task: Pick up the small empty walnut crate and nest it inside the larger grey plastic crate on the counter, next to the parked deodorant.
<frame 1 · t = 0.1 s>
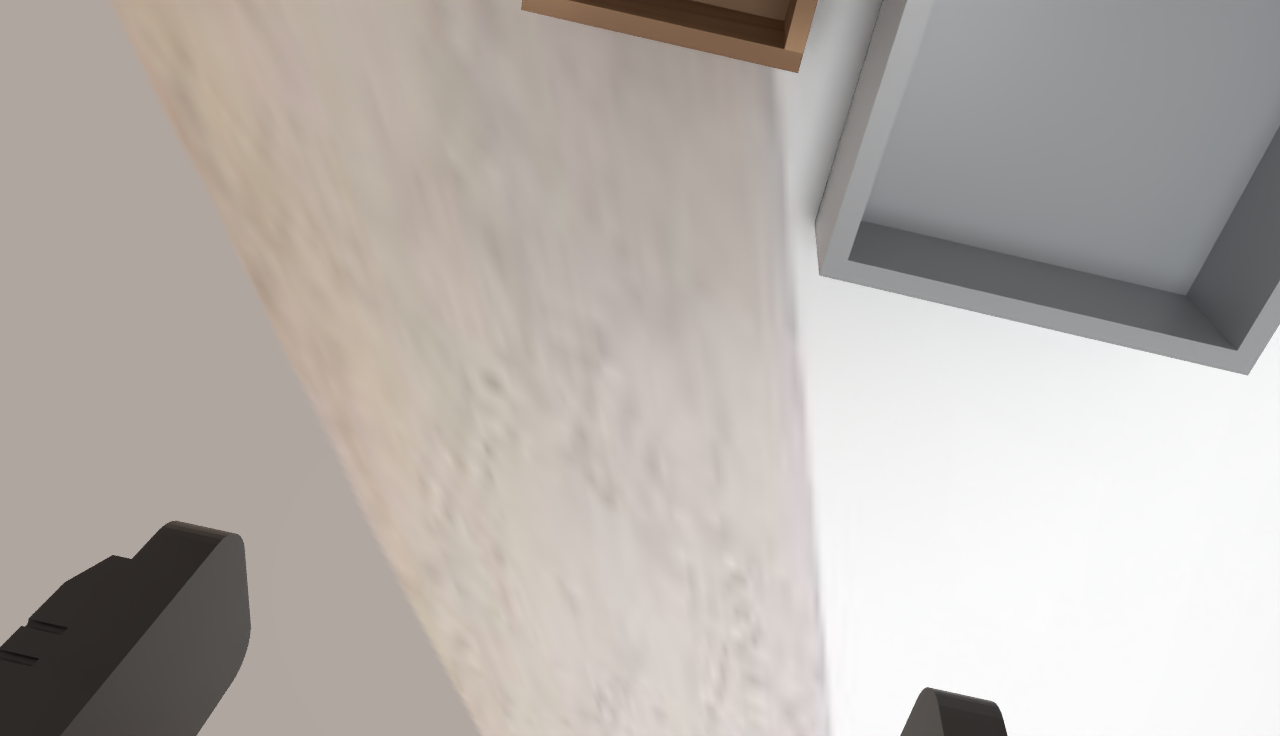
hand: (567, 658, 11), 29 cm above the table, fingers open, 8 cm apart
crate large: (1070, 101, 34), on the table
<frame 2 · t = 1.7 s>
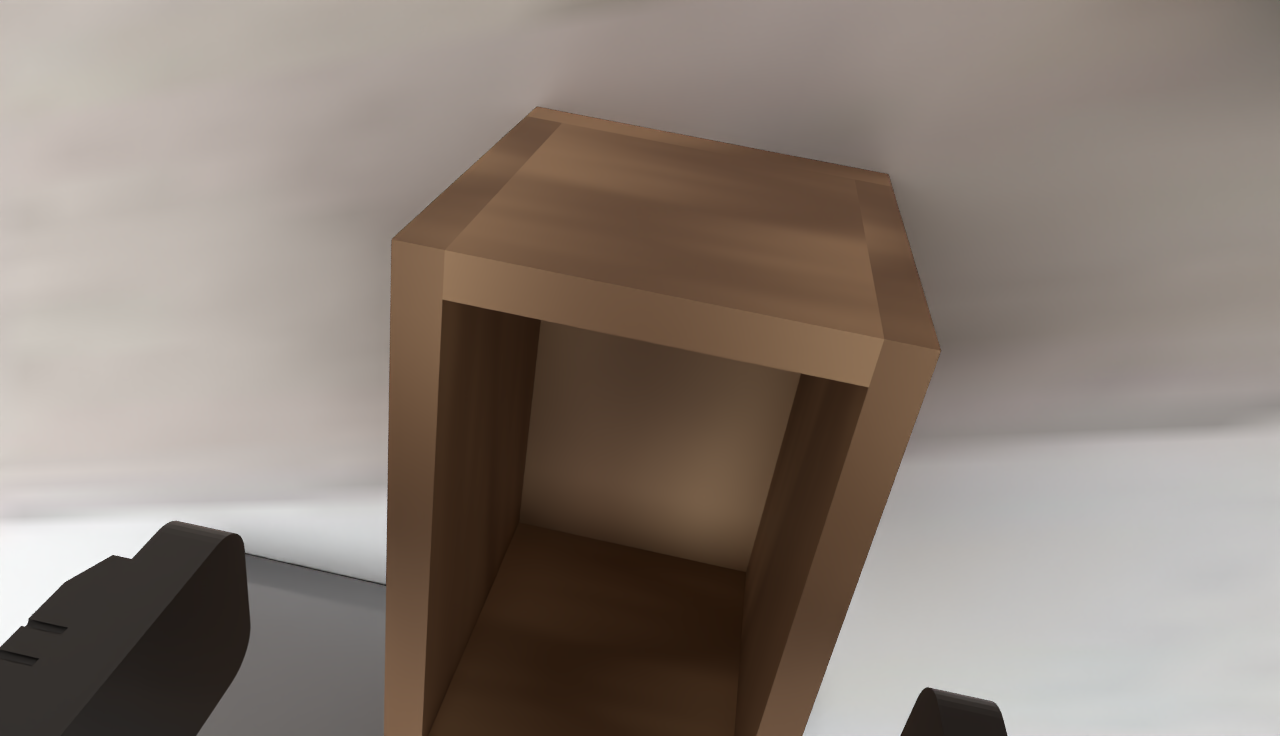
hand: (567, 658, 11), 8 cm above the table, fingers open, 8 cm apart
crate small: (667, 366, 18), on the table
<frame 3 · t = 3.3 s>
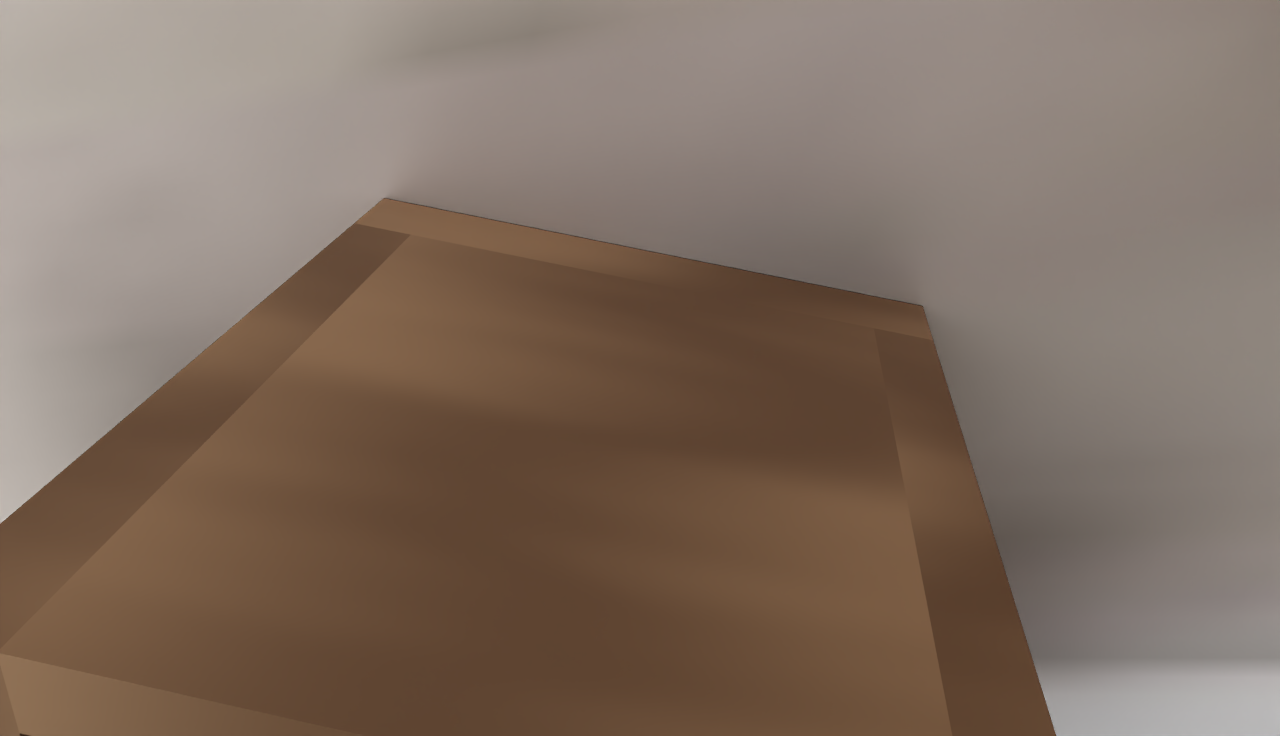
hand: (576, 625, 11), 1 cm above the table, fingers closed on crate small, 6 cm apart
crate small: (596, 559, 12), on the table, touching gripper
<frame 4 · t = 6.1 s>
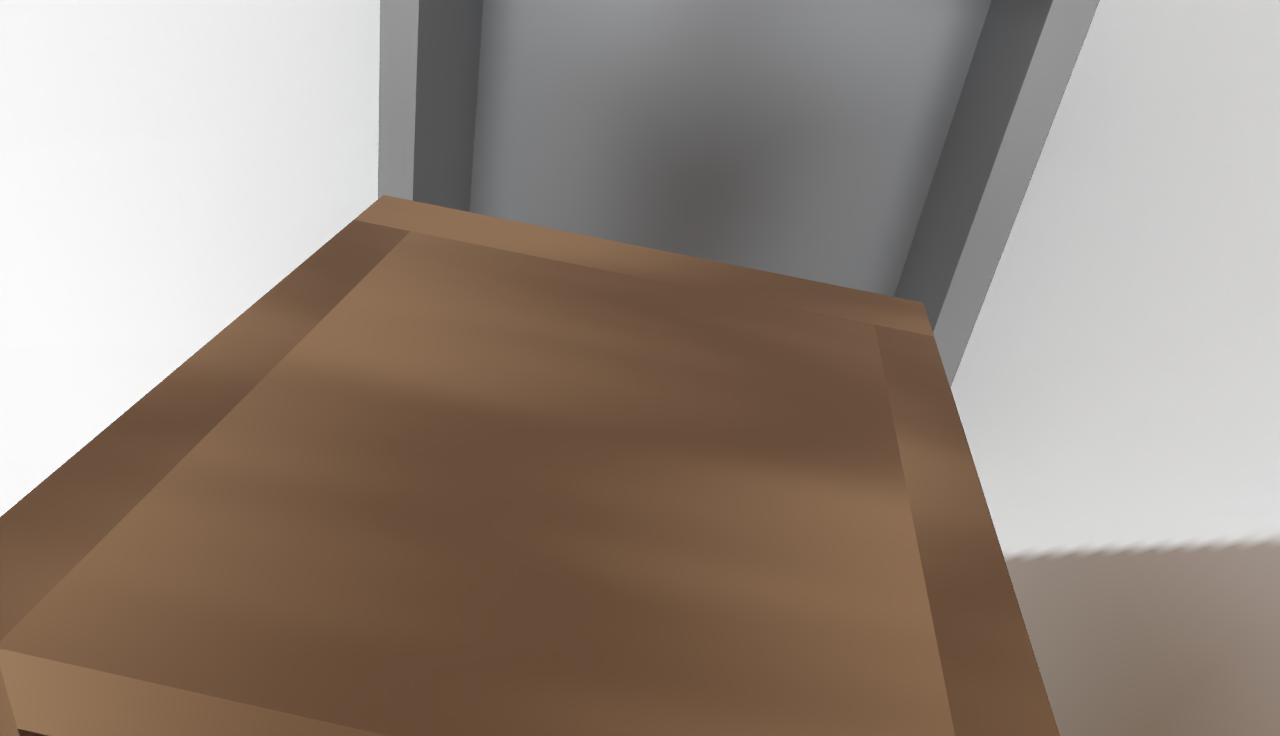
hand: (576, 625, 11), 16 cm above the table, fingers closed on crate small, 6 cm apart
crate large: (691, 198, 25), on the table
crate small: (596, 557, 12), point 15 cm above the table, touching gripper
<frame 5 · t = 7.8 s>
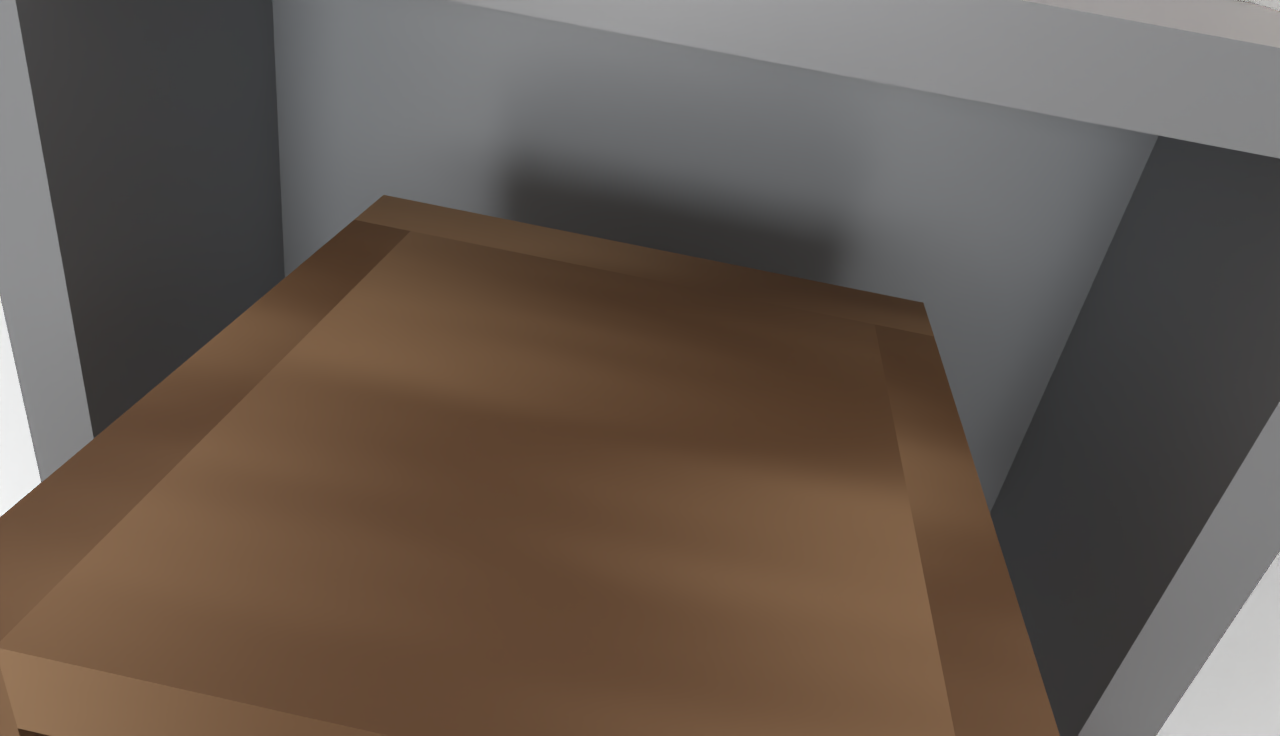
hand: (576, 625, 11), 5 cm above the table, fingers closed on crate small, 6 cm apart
crate large: (641, 403, 16), on the table
crate small: (596, 557, 12), point 4 cm above the table, touching gripper
when the fingers open (4 cm above the table, at t = 9.1 s): crate small drops 2 cm, resting on crate large.
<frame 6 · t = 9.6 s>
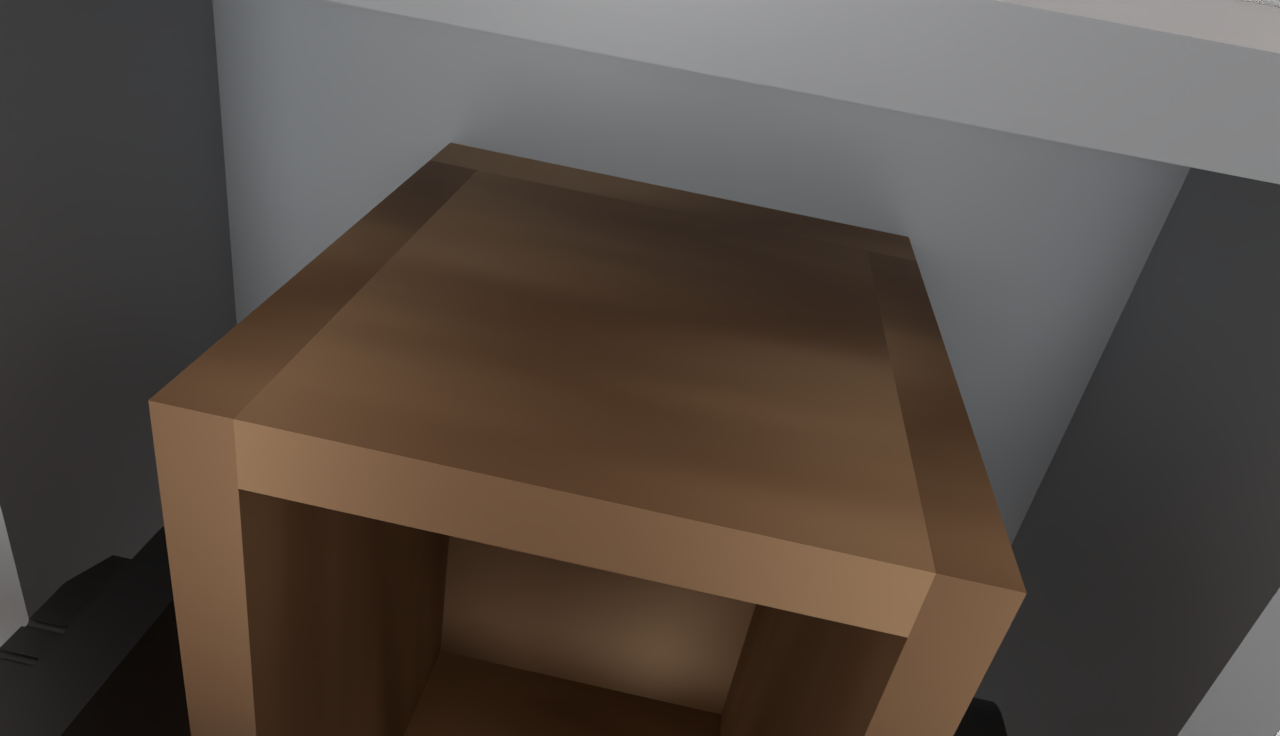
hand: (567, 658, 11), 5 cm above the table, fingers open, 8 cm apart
crate large: (625, 441, 15), on the table
crate small: (623, 468, 14), point 1 cm above the table, touching crate large
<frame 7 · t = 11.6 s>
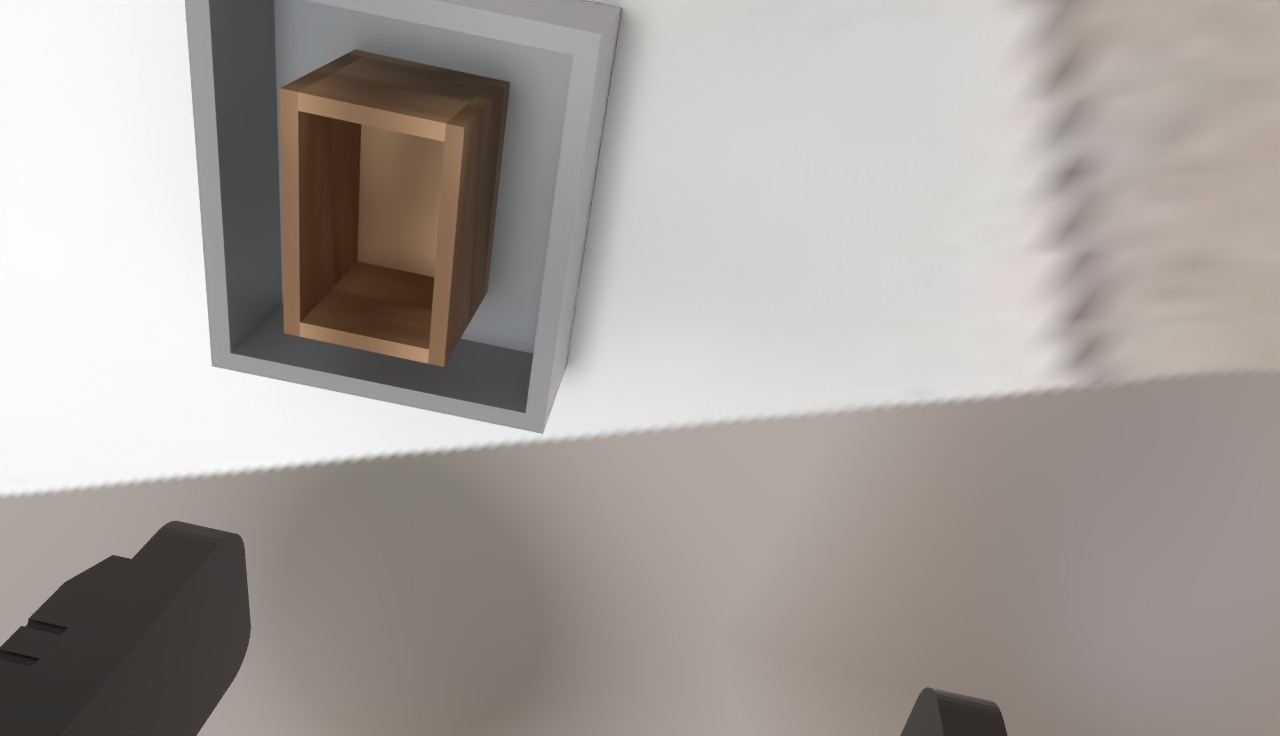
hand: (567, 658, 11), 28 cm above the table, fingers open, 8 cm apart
crate large: (429, 173, 38), on the table
crate small: (425, 178, 37), point 1 cm above the table, touching crate large
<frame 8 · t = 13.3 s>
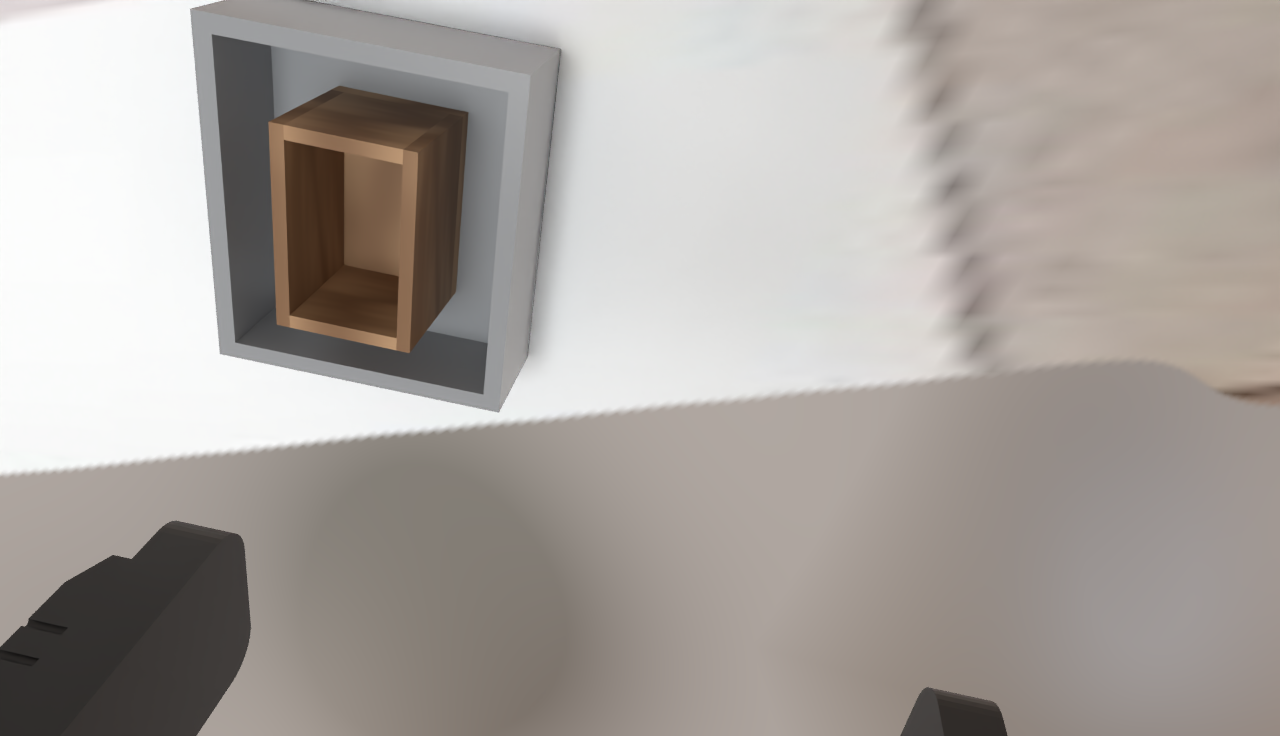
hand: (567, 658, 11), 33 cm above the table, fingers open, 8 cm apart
crate large: (404, 189, 44), on the table
crate small: (400, 193, 43), point 1 cm above the table, touching crate large
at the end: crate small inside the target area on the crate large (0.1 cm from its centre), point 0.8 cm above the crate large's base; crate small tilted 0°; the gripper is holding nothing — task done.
